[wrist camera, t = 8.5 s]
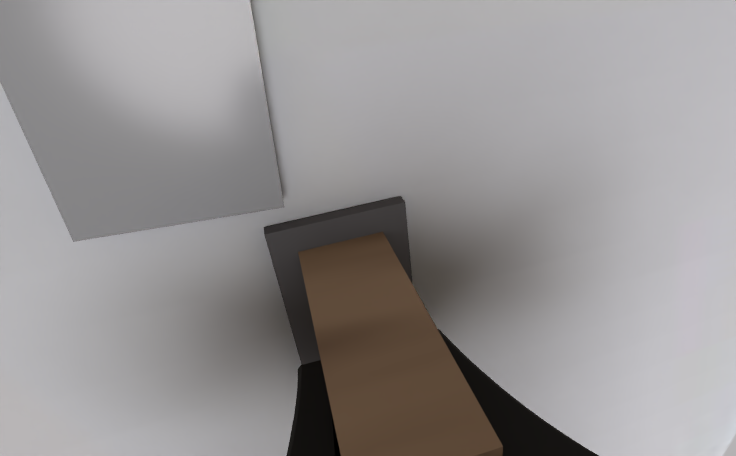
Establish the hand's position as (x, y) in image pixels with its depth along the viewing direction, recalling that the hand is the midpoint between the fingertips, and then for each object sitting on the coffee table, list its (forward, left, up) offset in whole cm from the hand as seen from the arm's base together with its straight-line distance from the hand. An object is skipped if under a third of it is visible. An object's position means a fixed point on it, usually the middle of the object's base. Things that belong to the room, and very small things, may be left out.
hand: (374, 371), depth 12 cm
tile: (+4, +4, -3) cm, 6 cm away
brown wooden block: (0, 0, -2) cm, 3 cm away
